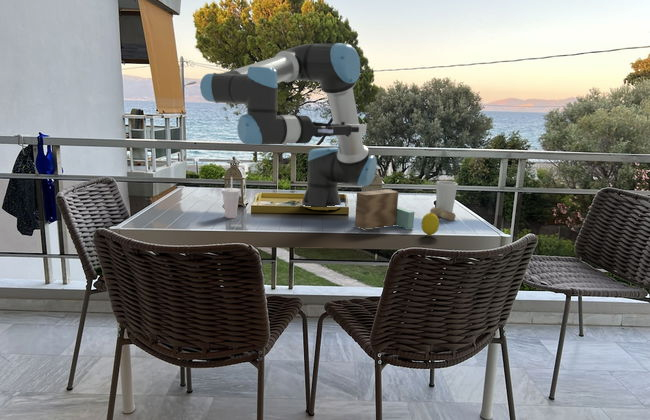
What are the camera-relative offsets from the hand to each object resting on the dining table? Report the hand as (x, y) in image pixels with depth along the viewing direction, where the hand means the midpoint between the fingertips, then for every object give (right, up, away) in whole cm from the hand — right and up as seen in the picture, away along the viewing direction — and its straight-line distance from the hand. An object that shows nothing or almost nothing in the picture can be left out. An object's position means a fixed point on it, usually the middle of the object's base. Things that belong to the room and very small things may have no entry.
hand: (364, 129), depth 146 cm
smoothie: (-45, -26, +28) cm, 59 cm away
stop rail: (+13, -29, +28) cm, 42 cm away
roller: (+32, -27, +40) cm, 58 cm away
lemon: (+22, -33, +15) cm, 42 cm away
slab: (+6, -30, +24) cm, 38 cm away
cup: (+35, -25, +47) cm, 64 cm away
